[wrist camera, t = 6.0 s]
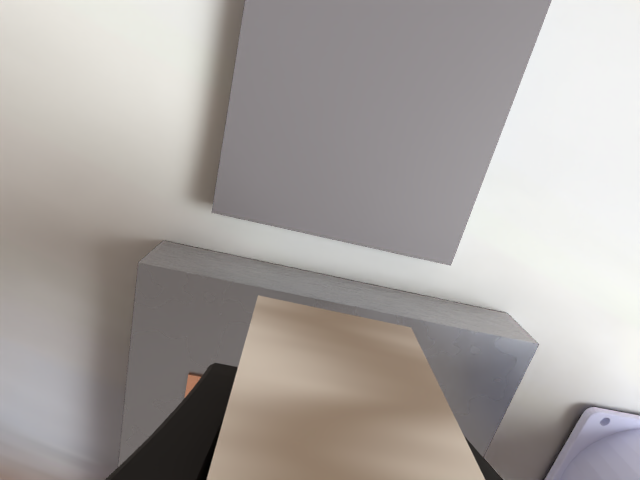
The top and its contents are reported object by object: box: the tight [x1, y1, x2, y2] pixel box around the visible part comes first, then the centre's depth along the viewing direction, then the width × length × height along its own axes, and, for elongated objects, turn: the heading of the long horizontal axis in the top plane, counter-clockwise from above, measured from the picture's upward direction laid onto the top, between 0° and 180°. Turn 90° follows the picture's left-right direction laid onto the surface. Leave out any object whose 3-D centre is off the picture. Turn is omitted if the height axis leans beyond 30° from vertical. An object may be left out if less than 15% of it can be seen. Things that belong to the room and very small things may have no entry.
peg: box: [207, 295, 485, 480], centre depth 7 cm, size 4×4×6 cm
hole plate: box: [118, 241, 539, 467], centre depth 18 cm, size 16×16×3 cm
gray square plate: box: [212, 0, 551, 265], centre depth 14 cm, size 10×10×1 cm
